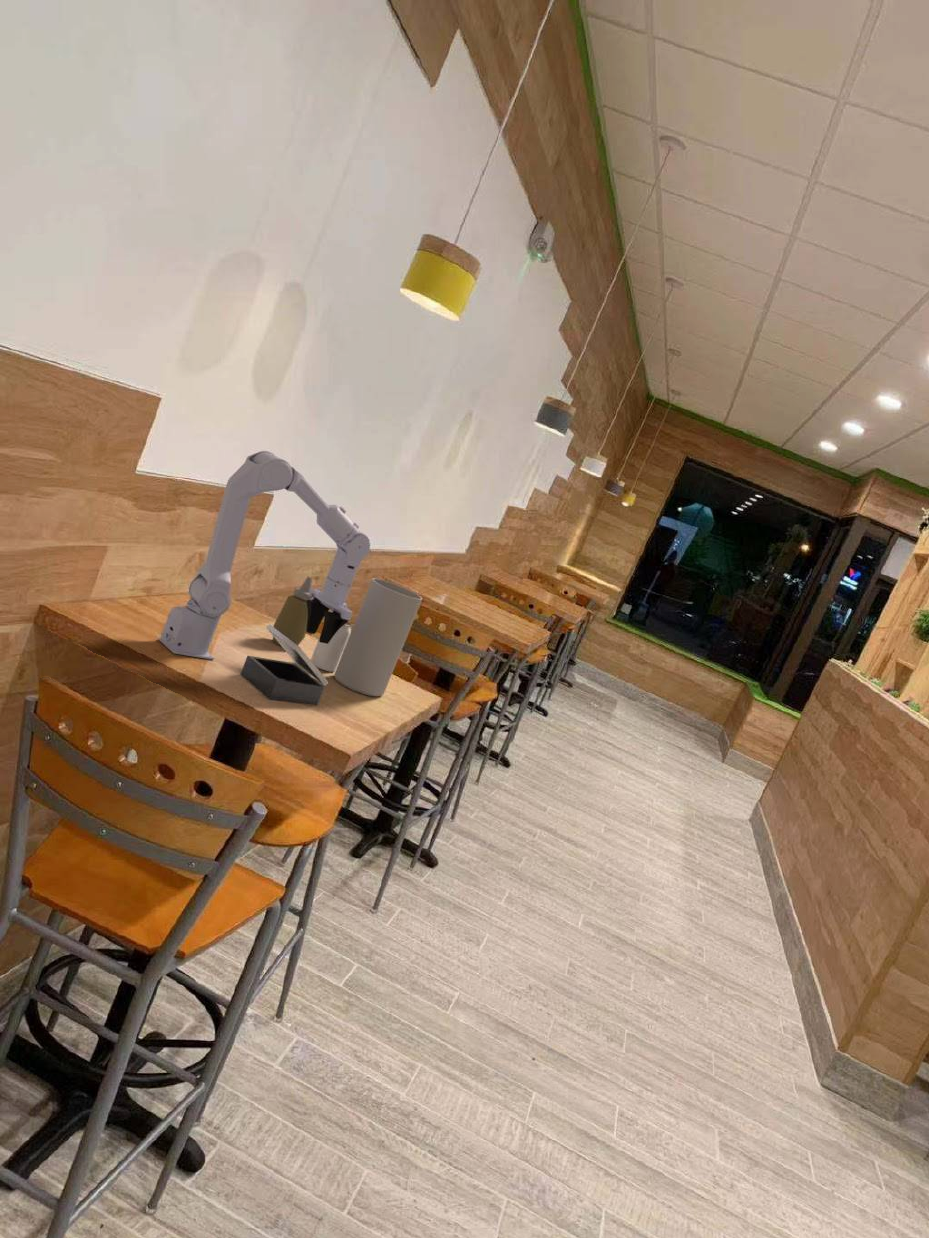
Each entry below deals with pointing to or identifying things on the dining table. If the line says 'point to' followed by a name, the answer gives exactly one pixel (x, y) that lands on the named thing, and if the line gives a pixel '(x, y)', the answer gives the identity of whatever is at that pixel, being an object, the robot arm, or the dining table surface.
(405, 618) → the cylinder vase
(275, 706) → the dining table surface
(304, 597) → the squeeze bottle
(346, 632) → the can
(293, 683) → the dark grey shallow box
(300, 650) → the lid
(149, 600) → the dining table surface
